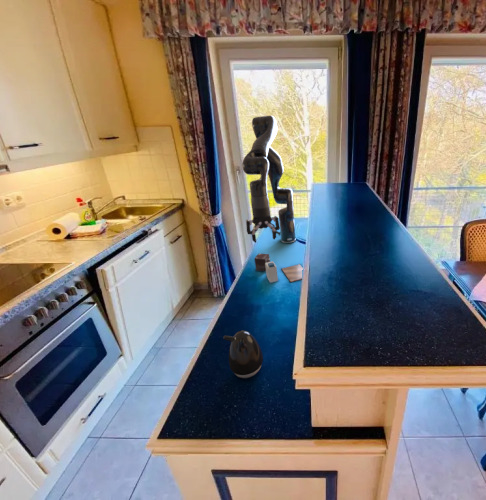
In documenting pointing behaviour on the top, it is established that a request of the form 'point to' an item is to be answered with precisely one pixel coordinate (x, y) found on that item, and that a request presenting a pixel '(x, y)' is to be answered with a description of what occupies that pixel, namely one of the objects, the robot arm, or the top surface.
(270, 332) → the top surface
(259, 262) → the box
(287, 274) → the wooden board
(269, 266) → the white and blue block
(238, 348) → the pump dispenser
